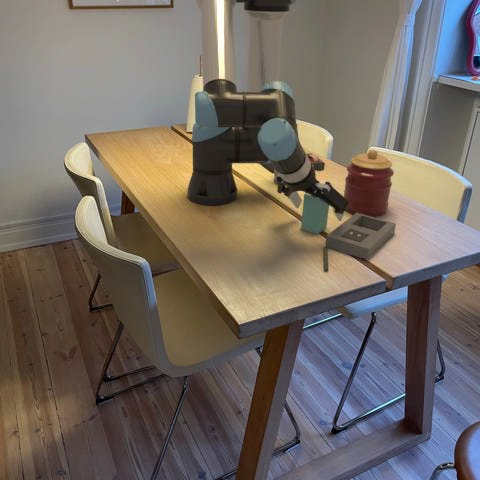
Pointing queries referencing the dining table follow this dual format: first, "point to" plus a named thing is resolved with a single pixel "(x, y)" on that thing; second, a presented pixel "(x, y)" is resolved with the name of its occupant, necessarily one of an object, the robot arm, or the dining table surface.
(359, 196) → the canister
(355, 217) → the grey flat block
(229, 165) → the robot arm
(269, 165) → the phone
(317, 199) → the charger block
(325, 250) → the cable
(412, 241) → the dining table surface
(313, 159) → the walkie-talkie
